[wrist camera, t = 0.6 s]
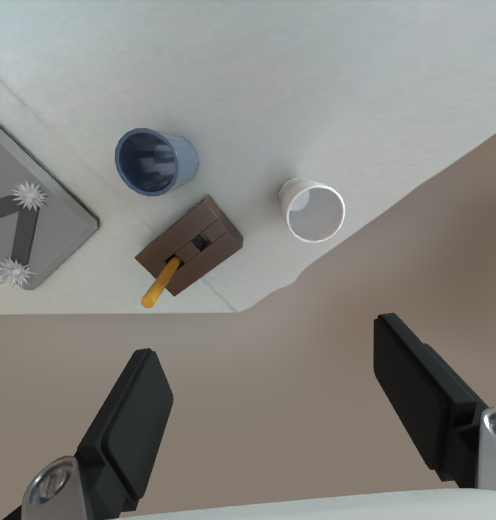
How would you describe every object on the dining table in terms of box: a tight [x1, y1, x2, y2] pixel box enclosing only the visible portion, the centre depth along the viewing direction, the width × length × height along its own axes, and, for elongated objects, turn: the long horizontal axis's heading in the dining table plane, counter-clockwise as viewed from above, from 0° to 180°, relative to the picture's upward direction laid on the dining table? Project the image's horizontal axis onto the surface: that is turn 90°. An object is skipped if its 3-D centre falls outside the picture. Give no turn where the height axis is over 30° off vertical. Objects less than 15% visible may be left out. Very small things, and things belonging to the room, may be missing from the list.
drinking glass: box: [279, 179, 345, 243], centre depth 35 cm, size 7×7×15 cm
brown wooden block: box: [135, 195, 243, 296], centre depth 43 cm, size 9×15×5 cm, turn 128°
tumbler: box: [115, 128, 198, 196], centre depth 35 cm, size 7×7×12 cm
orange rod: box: [141, 254, 182, 308], centre depth 38 cm, size 2×2×17 cm
